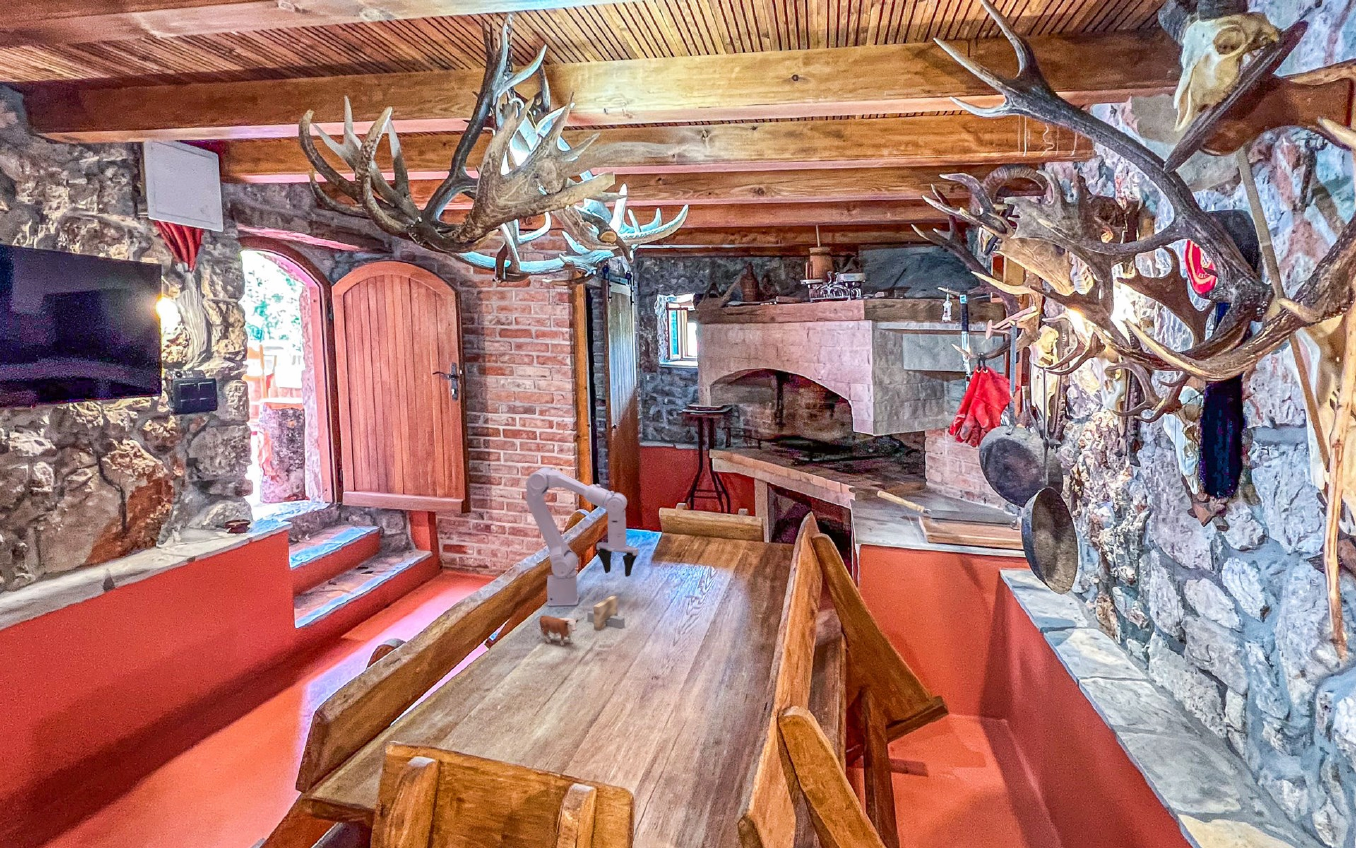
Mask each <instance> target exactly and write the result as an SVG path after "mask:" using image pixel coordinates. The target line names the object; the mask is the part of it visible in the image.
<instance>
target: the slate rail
mask: <svg viewBox="0 0 1356 848" xmlns="http://www.w3.org/2000/svg"><path fill="white" fill-rule="evenodd" d="M586 620H587V622H589V623H593V624H594V610H589V611H588V612H587V619H586ZM625 625H626V623H625V617H623V616H614V615H613V616H611V617H610V618H608V619H606V620H605V626H608V627H613V628H617V629H623V628H625Z"/></svg>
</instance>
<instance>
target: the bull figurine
mask: <svg viewBox="0 0 1356 848" xmlns="http://www.w3.org/2000/svg"><path fill="white" fill-rule="evenodd" d="M578 622H579V619H578V618H577V619H574V618H570V617H565V618H563V617H562V618H560V617H555V616H549V615H545V614H544V615H541V616H540V617H539V626H540V634H541V636H542V637H543V638H545V641H546V642H547V643H548V644H551V643H552V641H551V638H552V637H551V636H550V633H552V634H554V636H557V635H560V643H559V644H560V646H561V647H565V643H564V639H565V637H566V638H567V639H568V643H569V644H570V645H571V644H574V642H573V640H572V638H571V637H572V636H571V635H572V634H573V632H577V630H578V629H577V628H576V623H578Z"/></svg>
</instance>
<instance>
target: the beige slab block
mask: <svg viewBox="0 0 1356 848" xmlns="http://www.w3.org/2000/svg"><path fill="white" fill-rule="evenodd" d="M593 611H594V623H593V630H596V631H601V630H602V629H603V628H606V625H605V620H606V619H608V618H610V617H611V616H613V615H614V616H618V612H619V611H618V596H617V595H611V596H609V597H607V598H605V599H604V600H602V601H600V602H598V603H597V604H595V605H593Z"/></svg>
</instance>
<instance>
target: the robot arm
mask: <svg viewBox="0 0 1356 848" xmlns="http://www.w3.org/2000/svg"><path fill="white" fill-rule="evenodd" d="M525 485H526V491H525V493H526V494H525V502H526V504H527V506H528V508H529V510H530V513H531V515H532V517H533V519H534V521H535V523H536V525H537V527H538V529H539V531H540V534H541V535H542V537H543V541H544V542H545V544H546V546H547V548H548V550H549V561H550V564H551V572H552V574H548V575H547V583H546V591H547V592H546V597H547V606H548V607H549V606H550V607H557V606H560V607H561V606H563V607H564V606H577V605H578V604H579V599H580V595H578V582H577V581H578V580H577V578H578V577H577V575H578V574H577V571H576V567H577V566H578V563H579V557H578V555H577V554H576V553H575V552H574V551H573V550H572V549H571V547H570V545H568V544H567V543H566V542H565V541H564V539H563V537H562V535H561V533H560V530H559V528H558V526H557V524H556V522H555V520H554V518H553V515H552V514H551V512H550V509H549V507H548V505H547V503H546V500H545V497H546V494H547V492H548V491H549V489H555V488H559V487H560V488H563V489H566V490H568V491H571V492H573V493H576V494H579V495H581V496H583V498H584V500H585V501H586V502H588V503H590V504H592V505H595V506H597V507H599V508H601V509H604V510H605V511H606V513H607V542H601V541H600V542H597V543H596V550H598V552H597V556H598V558H599V559H600V561H601V564H602V566H603V570H604V573H605V574H608V573H610V572H611V564H612V563H611V561H612V560H611V559H612V554H613V552H614V553H621V554H624V555H622V560H623V563H624V576H625V577H627V578H628V577H630V576H631V575H632V570H633V566H634V563H635V561H636V559H637V557H638V555H639V547H635V546H632V545H629V544H627V518H626V510H625V509H626V507H627V505H628V499H627V498H626V496H625V495H624V494H622V493H621V492H615V491H614V490H611V491H610V490H608V489H605V488H603V487H601V484H598V483H596V484H593V483H592V484H590V485H587V484H585V483H582V482H581V481H578V480H577V479H575V478H573V477H570V476H568V475H567V474H565V473H563V472H561V471H560V470H559V469H555V468H554V469H553V468H551V467H550V466H542V467H540V468H539V469H537V470H536V471H534V472H532V473H530V474H529V476H528V478H527V480H526V482H525Z"/></svg>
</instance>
